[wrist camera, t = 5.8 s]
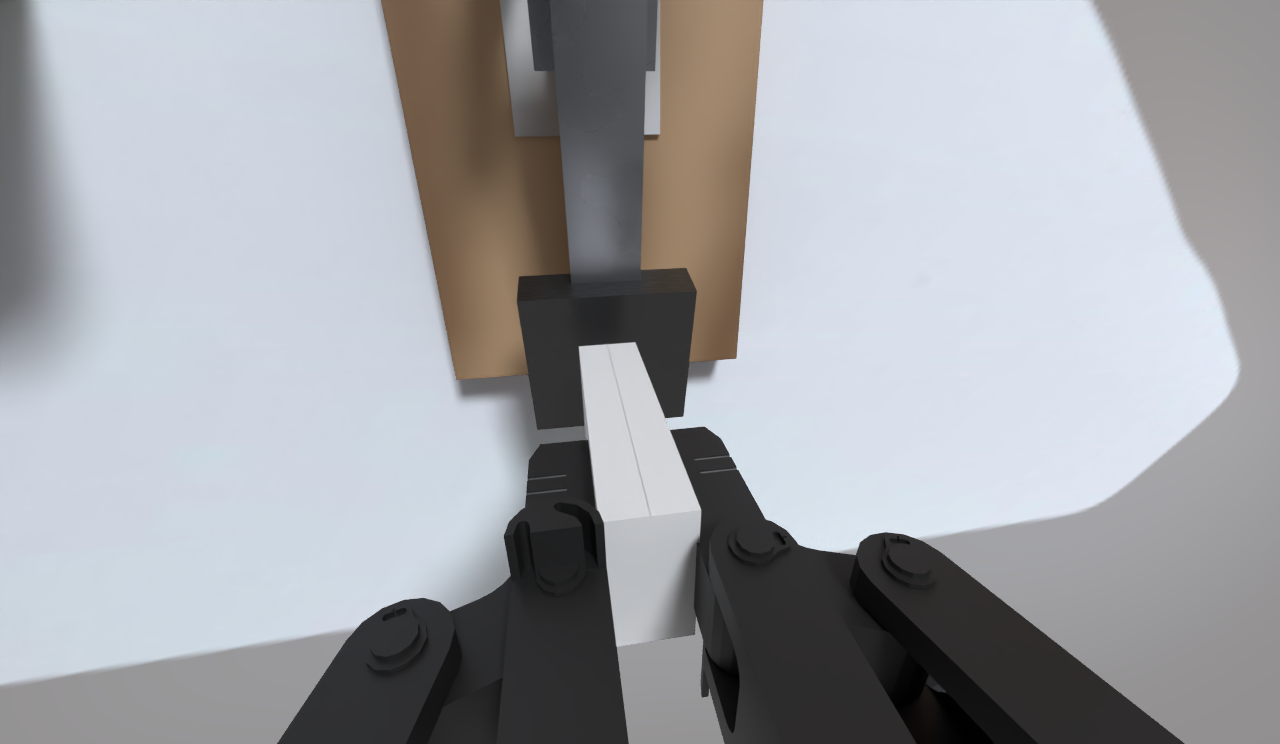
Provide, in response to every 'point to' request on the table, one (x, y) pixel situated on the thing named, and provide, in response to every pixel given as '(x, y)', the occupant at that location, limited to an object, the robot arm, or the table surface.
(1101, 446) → the table surface
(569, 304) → the lever
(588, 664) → the robot arm
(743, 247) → the base
